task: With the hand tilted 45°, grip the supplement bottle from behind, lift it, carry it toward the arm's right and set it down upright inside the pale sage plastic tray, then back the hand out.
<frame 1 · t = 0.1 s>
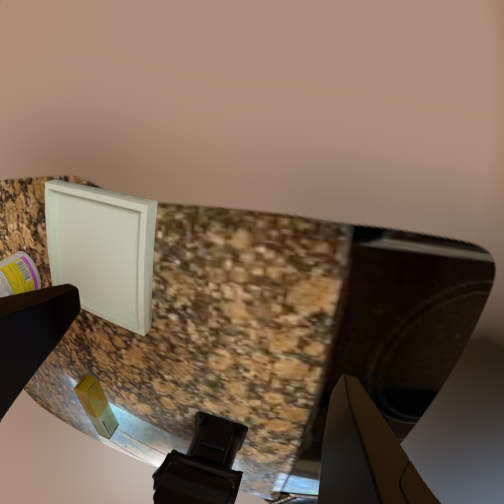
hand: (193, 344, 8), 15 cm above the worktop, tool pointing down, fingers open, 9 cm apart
medication box: (104, 399, 38), on the worktop
tray: (98, 252, 26), on the worktop
supplement bottle: (30, 272, 31), on the worktop
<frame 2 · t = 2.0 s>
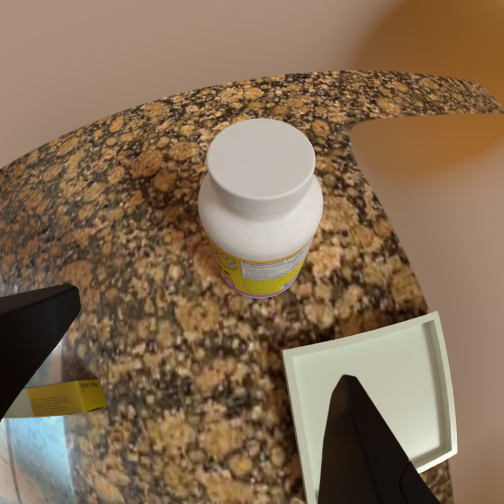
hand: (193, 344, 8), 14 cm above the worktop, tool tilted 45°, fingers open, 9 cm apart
medication box: (56, 401, 19), on the worktop
tray: (376, 412, 19), on the worktop
supplement bottle: (259, 261, 24), on the worktop
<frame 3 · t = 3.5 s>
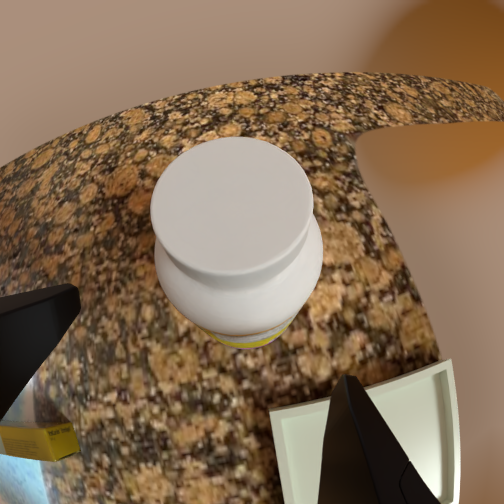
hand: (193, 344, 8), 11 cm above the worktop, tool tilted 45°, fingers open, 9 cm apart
medication box: (31, 436, 15), on the worktop
tray: (375, 469, 15), on the worktop
supplement bottle: (245, 303, 20), on the worktop
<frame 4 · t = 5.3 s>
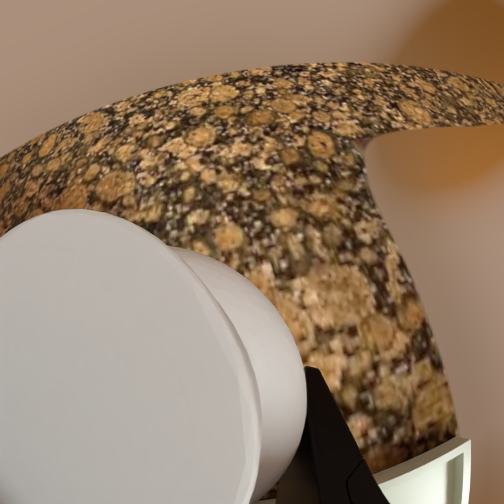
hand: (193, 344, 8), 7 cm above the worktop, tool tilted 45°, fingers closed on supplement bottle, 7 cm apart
supplement bottle: (211, 379, 14), on the worktop, touching gripper
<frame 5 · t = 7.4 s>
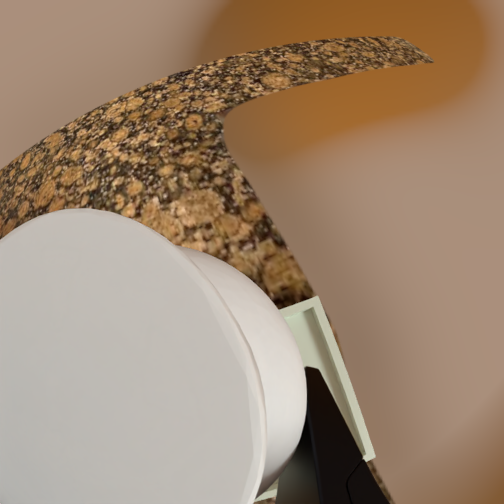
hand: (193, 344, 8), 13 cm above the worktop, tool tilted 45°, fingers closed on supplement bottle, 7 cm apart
tray: (259, 412, 19), on the worktop
supplement bottle: (209, 377, 14), point 6 cm above the worktop, touching gripper
when the fingers open (8 cm above the worktop, at t = 9.4 s): supplement bottle stays where it is, resting on tray.
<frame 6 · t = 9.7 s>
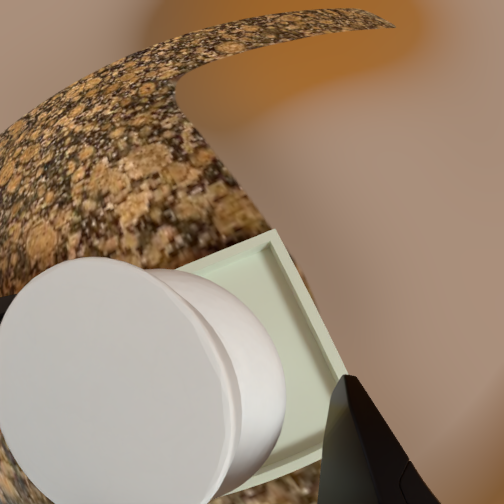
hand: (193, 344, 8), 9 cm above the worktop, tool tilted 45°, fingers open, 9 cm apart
tray: (217, 378, 16), on the worktop
supplement bottle: (211, 379, 15), resting on tray
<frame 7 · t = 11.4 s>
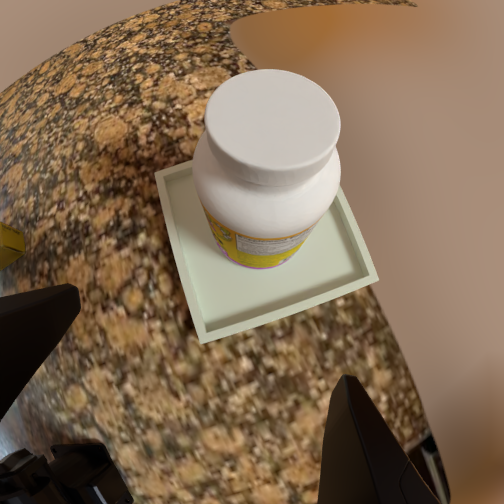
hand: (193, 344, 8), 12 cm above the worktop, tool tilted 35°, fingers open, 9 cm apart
tray: (262, 229, 22), on the worktop
supplement bottle: (258, 228, 22), resting on tray
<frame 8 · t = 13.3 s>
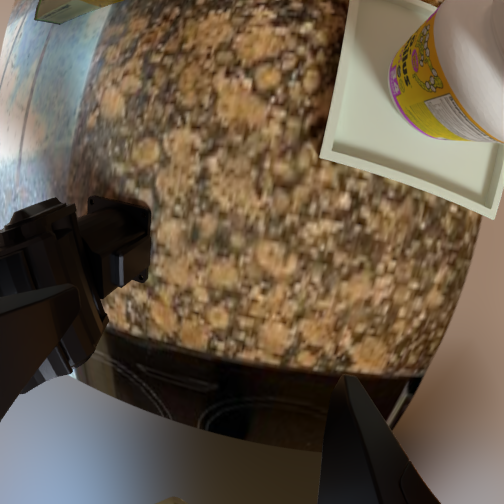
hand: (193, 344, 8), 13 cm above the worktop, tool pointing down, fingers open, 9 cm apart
tray: (431, 95, 14), on the worktop
supplement bottle: (430, 91, 14), resting on tray
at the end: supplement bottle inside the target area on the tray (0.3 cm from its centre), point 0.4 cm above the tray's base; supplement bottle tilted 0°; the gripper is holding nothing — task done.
